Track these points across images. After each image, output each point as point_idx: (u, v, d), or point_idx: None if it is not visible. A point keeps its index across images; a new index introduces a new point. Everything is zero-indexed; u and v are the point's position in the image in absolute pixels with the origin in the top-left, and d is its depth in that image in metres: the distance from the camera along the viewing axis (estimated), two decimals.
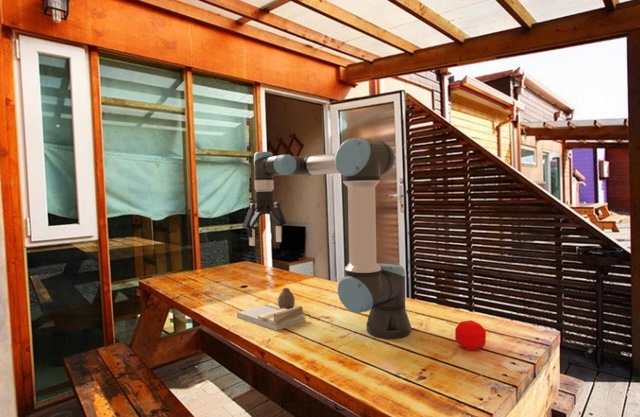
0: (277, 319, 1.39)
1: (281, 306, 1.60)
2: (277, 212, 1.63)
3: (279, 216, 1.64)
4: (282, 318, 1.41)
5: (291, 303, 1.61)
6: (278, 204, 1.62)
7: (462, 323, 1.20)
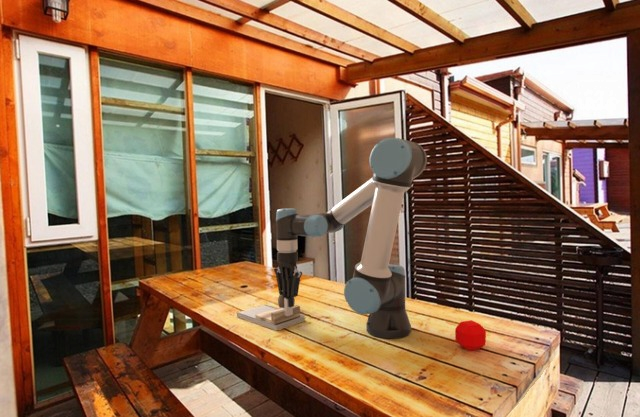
0: (275, 318, 1.40)
1: (281, 306, 1.60)
2: None
3: None
4: (280, 317, 1.42)
5: None
6: (295, 274, 1.39)
7: (462, 323, 1.20)
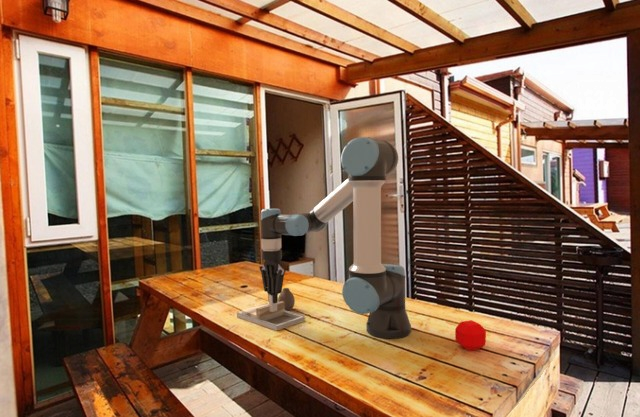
0: (259, 313, 1.46)
1: None
2: None
3: None
4: (264, 312, 1.48)
5: (291, 303, 1.61)
6: (279, 272, 1.45)
7: (462, 323, 1.20)
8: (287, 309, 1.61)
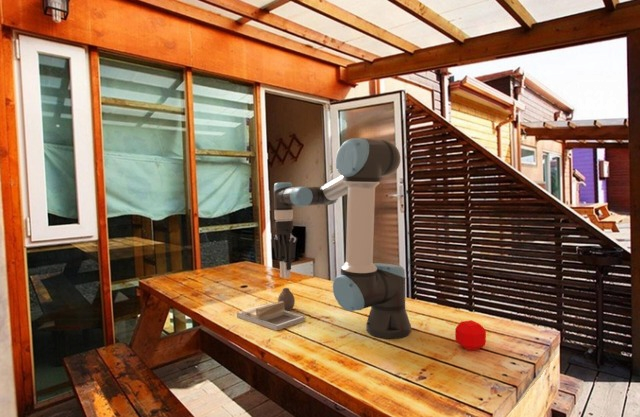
0: (259, 313, 1.46)
1: None
2: None
3: None
4: (264, 312, 1.48)
5: (291, 303, 1.61)
6: (291, 239, 1.57)
7: (462, 323, 1.20)
8: (287, 309, 1.61)
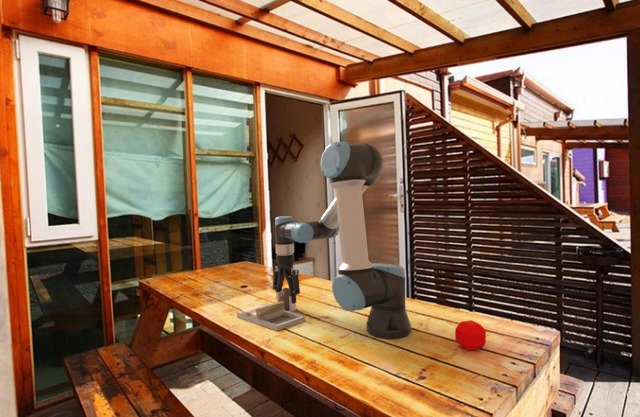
0: (259, 313, 1.46)
1: None
2: None
3: None
4: (264, 312, 1.48)
5: None
6: (293, 272, 1.57)
7: (462, 323, 1.20)
8: (287, 309, 1.61)
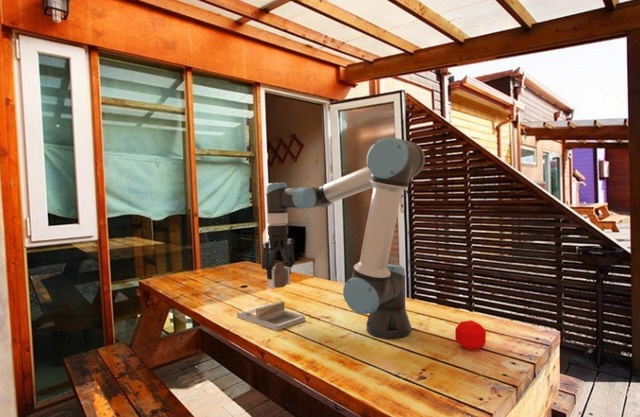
0: (259, 313, 1.46)
1: (286, 281, 1.45)
2: (288, 249, 1.50)
3: (289, 254, 1.51)
4: (264, 312, 1.48)
5: None
6: (292, 241, 1.50)
7: (462, 323, 1.20)
8: None
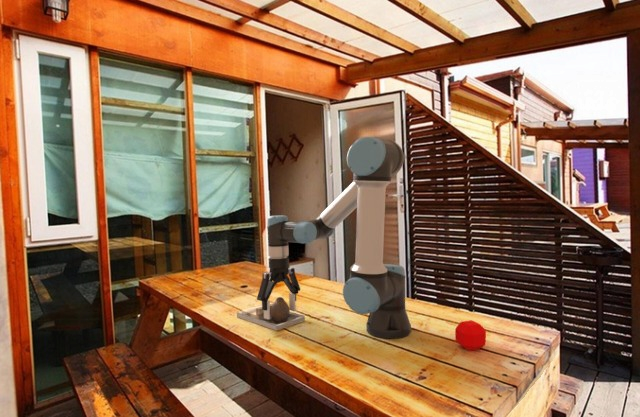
0: (259, 313, 1.46)
1: (287, 316, 1.46)
2: (291, 278, 1.52)
3: (293, 282, 1.52)
4: None
5: None
6: (293, 270, 1.50)
7: (462, 323, 1.20)
8: None
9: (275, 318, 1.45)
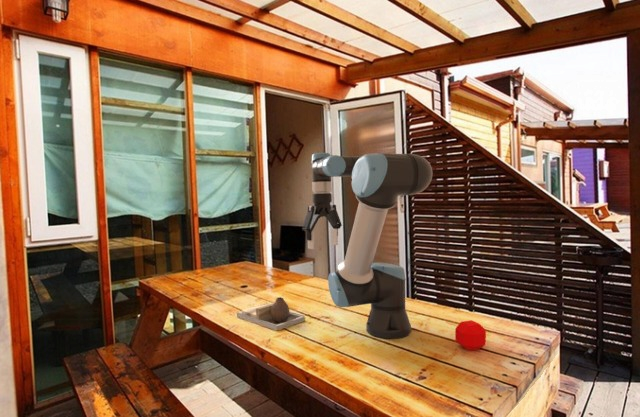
0: (259, 313, 1.46)
1: (286, 317, 1.46)
2: (333, 214, 1.60)
3: (335, 218, 1.60)
4: (264, 312, 1.48)
5: None
6: (335, 206, 1.58)
7: (462, 323, 1.20)
8: None
9: (275, 318, 1.45)
